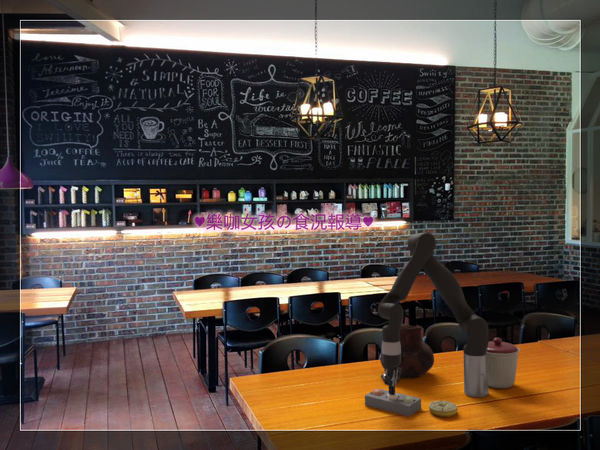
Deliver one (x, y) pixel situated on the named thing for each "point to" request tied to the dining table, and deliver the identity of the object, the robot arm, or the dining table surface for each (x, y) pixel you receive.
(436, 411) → the decorated donut
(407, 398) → the sage button
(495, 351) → the canister
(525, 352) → the dining table surface
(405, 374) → the jug
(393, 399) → the ivory button
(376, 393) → the terracotta button
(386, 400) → the block
